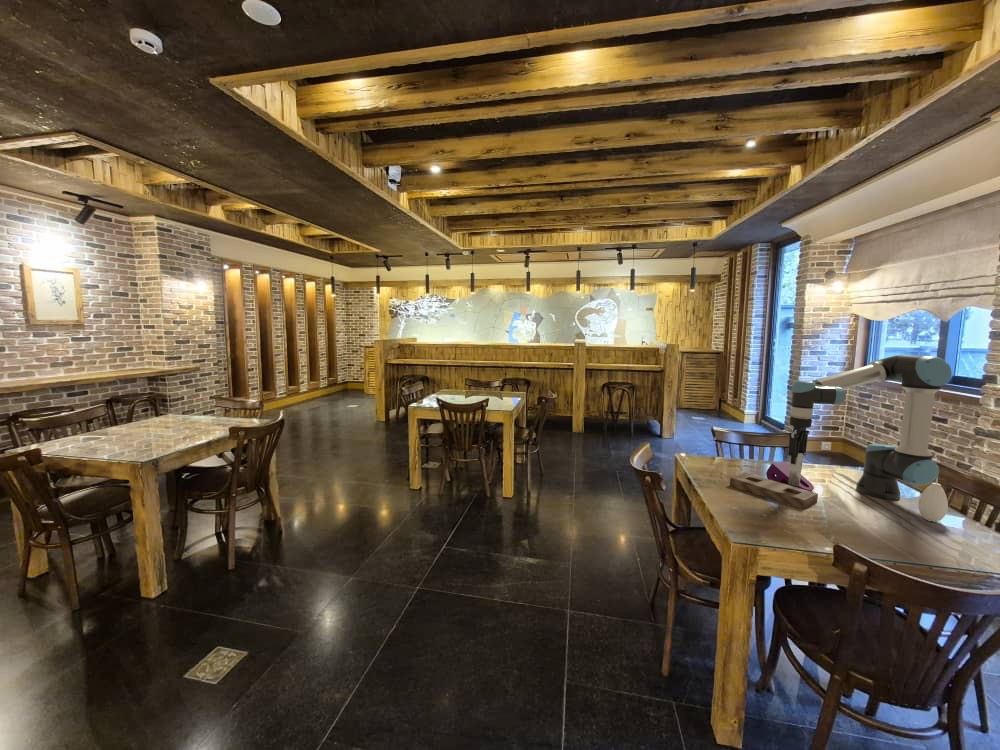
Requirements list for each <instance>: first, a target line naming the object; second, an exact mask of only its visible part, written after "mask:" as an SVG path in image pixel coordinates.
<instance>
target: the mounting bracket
mask: <svg viewBox="0 0 1000 750" xmlns="http://www.w3.org/2000/svg"><path fill="white" fill-rule="evenodd" d="M789 467H790V463H788V462H787V461H780V462H772V463H771V464H770V465H769V467H768V468H767V470H766V473H765V476H766V479H769V480H772V481H776V482H779V483H783V484H784V483H785V482H788V481H789V472H790V470H789ZM784 481H785V482H784ZM791 486H793V487H797V488H800V489H803V490H807V491H810V492H813V491H814V489H815V486H814V484H812V483H811V481H809V480H808V479H807V478H806V476H804V475H802V474H801V477H800V485H799V486H794V485H791Z"/></svg>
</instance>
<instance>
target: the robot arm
mask: <svg viewBox="0 0 1000 750" xmlns="http://www.w3.org/2000/svg"><path fill="white" fill-rule="evenodd" d="M952 372H953V371H952V369H951V366H950V364H949V362H947V361H946V360H945V359H944V358H940V357H938V356H931V355H914V354H913V355H912V354H910V355H909V354H898V355H892V356H889V357H885V358H881V359H878V360H874V361H869V362H868V364H867V365H865V366H861V367H857V368H854V369H850V370H846V371H843V372H838V373H836V374H830V375H829V376H825V377H821V378H818V379H813V380H795V381H794V383H793V384H792V385H791V390H790V391H791V395H792V397H791V405H790V408H789V410H790V416H789V425H790V426H793V429H792V432H789V442H788V453H787V456H789V457H790V458H789V465H790V467H789V470H790V471H794V472H797V468H798V458H799V457H797V456H798V452H801V453H803V456H806V455H807V446H808V438H809V433H810V430H807V429H808V428H811V427H812V421H813V419H812V418H813V412H814V405H816V404H817V405H841V404H843V403H844V402H845V401H846V396H847V393H846V391H845V390H847V389H851V388H854V387H859V386H862V385H867V384H870V383H873V382H876V383H881V382H882V383H883V382H886V381H892V382H893V381H897V382H901V385H900V387H901V388H902V389H904V391H905V393H904V403H903V404H904V405H903V411H902V420H901V431H900V438H899V445H892V444H880V443H870V444H868V445H867V446H866V449H865V451H864V452H865V453H864V454H865V455H864V463H863V471H862V475H861V477H860V478H859V479H858V481H857V483H856V488H855V490H857V491H858V492H860V493H862V494H865V495H868V496H871V497H874V498H879V499H883V500H884V499H886V500H900V499H901V490H900V486H899V484H898V480H901V481H902V482H905V483H908V484H912V485H915V486H921V487H922V486H926V485H930V484H931V483H933V482H934V481H936V478H937V477H938V476H939V473H940V467H939V465H938V463H936V462H935V461H934V460H933V453H932V452H931V451H930V450H929V443H930V435H931V428H932V427H931V426H932V419H933V410H934V404H935V403H934V401H935V395H936V393H937V392H939V391H941V388H942V386H943V385H946V384H947V383H948V381H950V379H951V378H952V374H953V373H952ZM803 460H804V457H803V458H802V463H803V462H804V461H803ZM802 470H803V466H802V467H801V471H802Z"/></svg>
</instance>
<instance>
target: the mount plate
mask: <svg viewBox="0 0 1000 750" xmlns="http://www.w3.org/2000/svg"><path fill="white" fill-rule="evenodd" d="M729 486H730V487H732V486H733V488H736V489H739V490H742V491H745V492H748V491H749V493H751V492H752V494H754V493H756V494H755V495H757V494H759V495H758V496H760V495H761V497H763V496H764V497H763V498H766V497H767V498H766V499H769V498H770V500H773V501H776V502H778V503H779V502H780V503H782V504H786V505H788V504H789V505H788V506H791V505H792V506H791V507H794V506H795V507H794V508H797V507H798V509H800V508H801V510H805V509H807V508H809V507H812V506H814V505H815V504H817V503H818V497H819V493H816V492H813V491H812V492H810V491H807V490H803V489H800V488H797V487H793V486H792V485H790V484H786V483H784V482H783V483H779V482H776V481H772V480H769V479H767V478H764V477H761V476H759V475H754V474H752V473H751V474H750V473H748V472H743V473H739V474H737V475H733V476H730V478H729Z"/></svg>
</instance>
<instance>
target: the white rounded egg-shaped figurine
mask: <svg viewBox="0 0 1000 750" xmlns="http://www.w3.org/2000/svg"><path fill="white" fill-rule="evenodd" d="M938 480H939V479H938V476H937V478H936V479H935V482H931V483H930V484H929V486H927V487H926V488H925V489H924V490H923V491H922V493H921V495H920V497H919V499H918V511H919V513H920V515H921V517H923V519H925V520H926V521H927V520H928V522H930V521H933V522H932V523H934V522H935V523H937V522H938V521H939V522H940V521H942V520H943V519H944V518H945V517H946V515H947V513H948V508H949V507H948V506H949V502H948V498H947V495H946V494H947V493H946V492H945V490H944V489H943V487H942V485H941V484H940V483H938V482H939V481H938Z"/></svg>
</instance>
